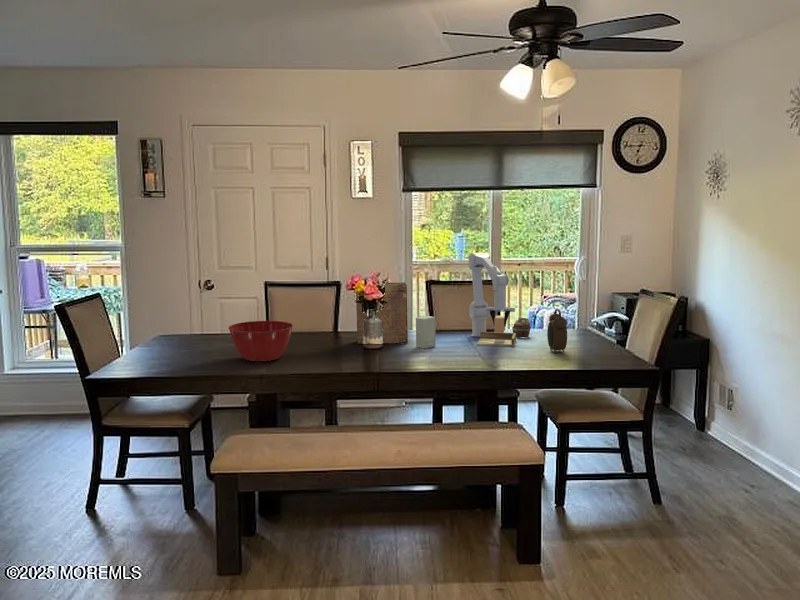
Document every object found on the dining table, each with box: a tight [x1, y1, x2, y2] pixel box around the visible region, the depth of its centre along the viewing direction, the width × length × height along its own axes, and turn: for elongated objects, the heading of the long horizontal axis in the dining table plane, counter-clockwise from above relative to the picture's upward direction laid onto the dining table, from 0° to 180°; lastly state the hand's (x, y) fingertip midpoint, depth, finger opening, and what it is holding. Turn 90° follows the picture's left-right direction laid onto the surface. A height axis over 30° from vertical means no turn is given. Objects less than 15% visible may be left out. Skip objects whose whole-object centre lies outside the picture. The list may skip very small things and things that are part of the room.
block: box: [493, 315, 506, 333], centre depth 320 cm, size 4×9×7 cm, turn 166°
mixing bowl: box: [228, 320, 294, 362], centre depth 290 cm, size 28×28×15 cm
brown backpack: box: [547, 308, 568, 354], centre depth 298 cm, size 14×7×20 cm, turn 1°
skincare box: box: [415, 315, 437, 349], centre depth 313 cm, size 8×6×15 cm
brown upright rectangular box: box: [355, 282, 409, 345], centre depth 325 cm, size 25×9×30 cm, turn 94°
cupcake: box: [511, 317, 532, 338], centre depth 338 cm, size 10×10×10 cm
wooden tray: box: [476, 331, 517, 348], centre depth 322 cm, size 16×18×4 cm
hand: (499, 325), depth 320 cm, fingers closed on block, 4 cm apart
